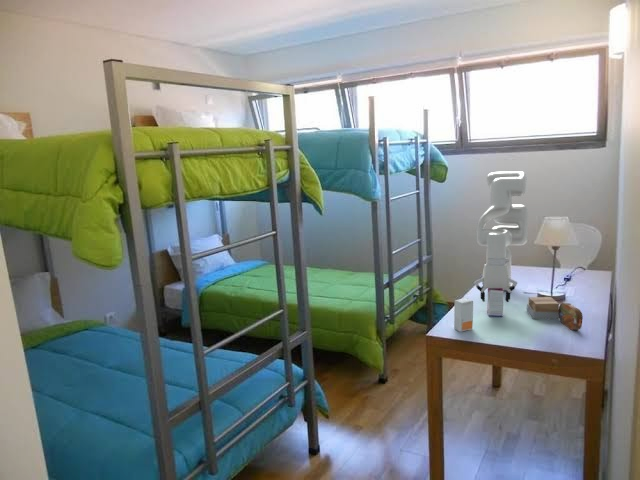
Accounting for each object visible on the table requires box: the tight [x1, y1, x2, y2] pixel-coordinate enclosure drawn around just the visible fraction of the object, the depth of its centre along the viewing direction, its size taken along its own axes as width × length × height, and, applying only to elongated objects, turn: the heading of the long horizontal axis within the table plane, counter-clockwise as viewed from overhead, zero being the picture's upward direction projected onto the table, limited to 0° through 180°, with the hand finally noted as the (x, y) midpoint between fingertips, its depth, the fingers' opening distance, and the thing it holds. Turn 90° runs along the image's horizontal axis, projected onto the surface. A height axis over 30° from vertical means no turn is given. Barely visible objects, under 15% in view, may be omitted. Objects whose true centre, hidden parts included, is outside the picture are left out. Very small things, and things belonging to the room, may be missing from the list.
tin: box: [558, 302, 584, 331], centre depth 189 cm, size 15×3×8 cm, turn 178°
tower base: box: [526, 303, 560, 320], centre depth 203 cm, size 10×10×4 cm
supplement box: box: [486, 288, 505, 318], centre depth 205 cm, size 6×6×12 cm
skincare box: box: [453, 297, 474, 333], centre depth 190 cm, size 6×4×12 cm
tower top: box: [528, 296, 560, 312], centre depth 202 cm, size 9×9×4 cm
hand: (495, 300), depth 205 cm, fingers open, 9 cm apart
